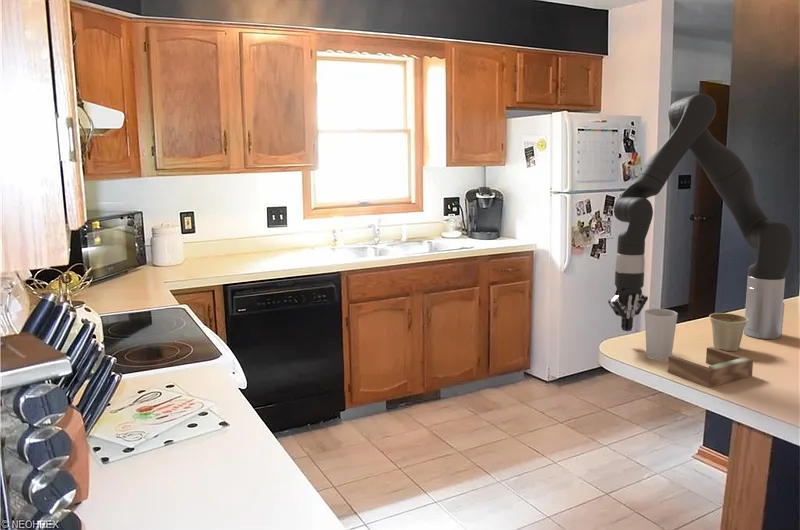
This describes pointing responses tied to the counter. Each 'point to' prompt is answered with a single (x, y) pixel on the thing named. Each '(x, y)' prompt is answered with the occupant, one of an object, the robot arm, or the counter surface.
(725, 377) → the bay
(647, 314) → the cup
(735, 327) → the flower pot
